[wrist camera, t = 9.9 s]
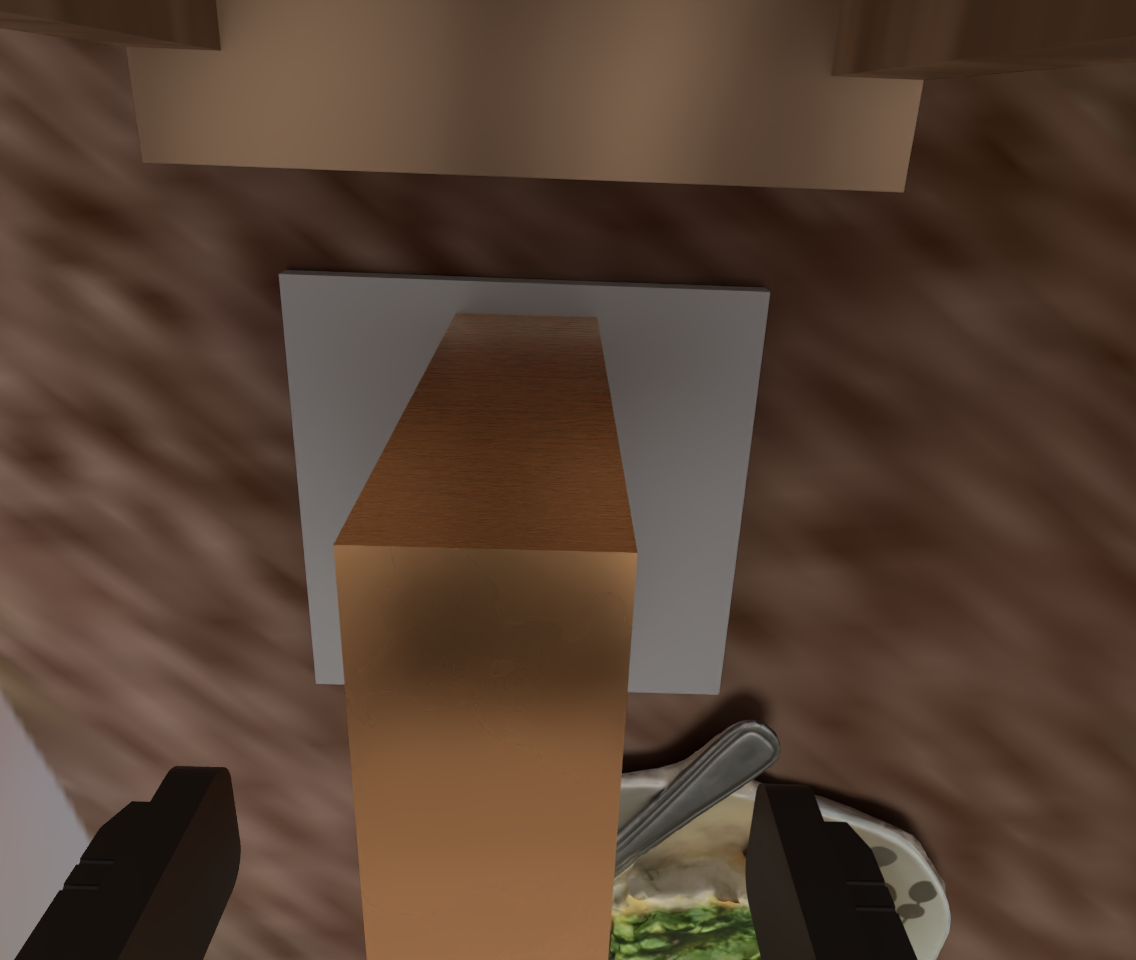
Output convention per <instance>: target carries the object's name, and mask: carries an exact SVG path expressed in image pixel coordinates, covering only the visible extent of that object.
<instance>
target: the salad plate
mask: <svg viewBox="0 0 1136 960" xmlns="http://www.w3.org/2000/svg"><path fill="white" fill-rule="evenodd" d="M780 752H781V749H780V742H779V740H778V737H777V735H776V733H775V732H774V731H773V730H772V729H771V728H770V727H769V726H768V725H767V724H765V723H763V722H761V721H758V720H745V721H740V722H738V723H736V724H733V725H731V726H730V727H728V728H727V729H725V730H724V731H723V732H722V733H720V734H718V735H716V736H715V737H714V738H712V739H711V740H710V741H709V742H708V743H707V744H705V745H704V746H703V747H702V748H701V749H699V750H698V751H696V752H694V754H693V755H691V756H690V757H688V758H687V759H685V760H683V761H680V762H678V763H675V764H671V765H667V766H664V767H660V768H655V769H647V770H641V771H635V772H630V773H622V776H621V790H620V803H619V817H618V831H617V845H616V858H615V872H614V886H613V900H612V914H611V927H610V941H609V955H608V960H761V956H760V952H759V947H758V943H757V939H756V934H755V930H754V926H753V921H752V917H751V913H750V908H749V904H748V898H747V891H746V878H745V864H746V854H747V848H748V841H749V835H750V828H751V822H752V815H753V809H754V802H755V796H756V790H757V787H758V785H759V784H761V782H758V781H756V780H754V778H756V777H757V776H759V775H760V774H761V773H763V772H764V771H765V770H766V769H767V768H769V767H771V766H772V765H773V764H774V763H775V761H776V760H777V759H778V757H779V754H780ZM815 798H816V800H817V803H818V806H819V809H820V811H821V814H822V817H823V820H824V821H832V822H847V823H848V824H849V825H850V826H851V827H852V828H853V829H854V830H855V832H856V833H857V834H858V835H859V836H860V837H861V838H862V839H863V840H864V841H865V843H866V844H867V845H868V846H869V847H870V848H871V849H872V851H873V853H874V856H875V858H876V861H877V863H878V866H879V868H880V870H881V873H882V875H883V878H884V880H885V887H888V890H889V892H890V894H891V897H892V899H893V902H894V904H895V906H896V907H895V910H896V913H898V914H899V916H900V918H901V921H902V923H903V926H904V928H905V930H906V933H907V935H908V938H909V940H910V942H911V945H912V947H913V950H914V952H915V954H916V957H917V959H918V960H936V959H937V957H938V954H939V952H940V950H941V948H942V946H943V945H944V942H945V940H946V938H947V936H948V934H949V930H950V923H951V919H950V918H951V915H950V909H949V904H948V901H947V898H946V895H945V882H944V881H943V879H942V878H941V877H940V876H939V874H938V872H937V871H936V869H935V867H934V866H933V863H932V861H931V860H930V858H928V856H927V854H926V853H925V851H924V849H923V847H922V845H921V844H920V842H919V841H918V840H917V839H916V838H915V837H914V836H913V835H912V834H910V833H908V832H906V831H904V830H902V829H900V828H898V827H896V826H893V825H891V824H889V823H887V822H885V821H882V820H880V819H877V818H875V817H872V816H870V815H867V814H865V813H863V812H861V811H859V810H857V809H855V808H852V807H850V806H847V805H844V804H842V803H839V802H836V801H833V800H830V799H828V798H825V797H822V796H818V795H815Z"/></svg>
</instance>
